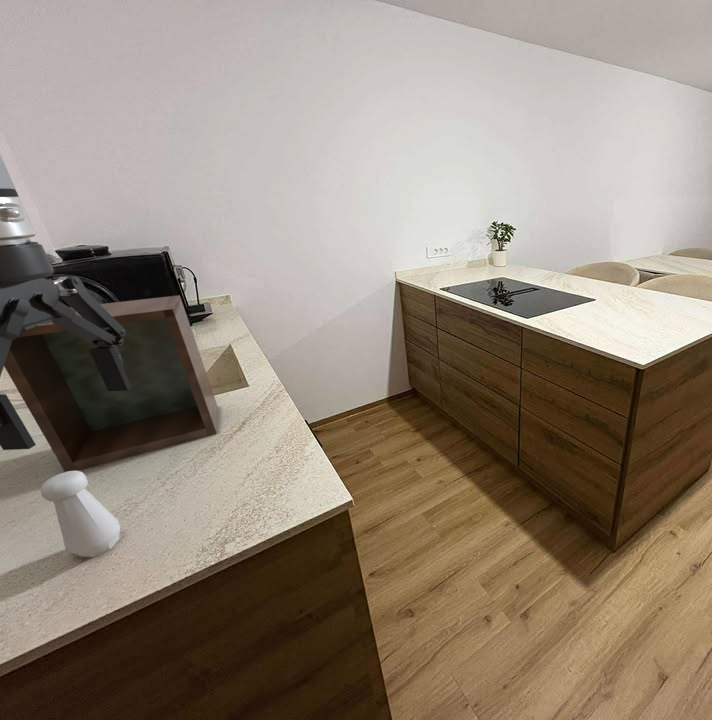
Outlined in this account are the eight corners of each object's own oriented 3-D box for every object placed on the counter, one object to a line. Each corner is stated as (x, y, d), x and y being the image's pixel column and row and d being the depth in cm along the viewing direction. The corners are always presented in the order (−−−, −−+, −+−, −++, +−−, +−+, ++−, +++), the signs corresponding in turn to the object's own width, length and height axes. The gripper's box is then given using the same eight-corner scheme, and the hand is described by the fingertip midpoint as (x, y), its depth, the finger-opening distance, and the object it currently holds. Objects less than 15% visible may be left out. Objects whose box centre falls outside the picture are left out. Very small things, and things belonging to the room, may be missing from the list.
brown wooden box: (65, 474, 71) (-16, 332, 60) (86, 439, 81) (19, 313, 70) (216, 434, 83) (172, 308, 71) (218, 408, 93) (179, 295, 81)
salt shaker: (63, 557, 54) (17, 487, 49) (109, 526, 59) (72, 460, 54) (90, 567, 53) (46, 497, 48) (135, 535, 58) (99, 468, 53)
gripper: (-151, 260, 28) (-2, 481, 37) (121, 231, 51) (174, 372, 60) (-260, 262, 28) (-84, 485, 36) (63, 232, 51) (124, 373, 59)
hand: (76, 415), depth 48 cm, fingers open, 13 cm apart
